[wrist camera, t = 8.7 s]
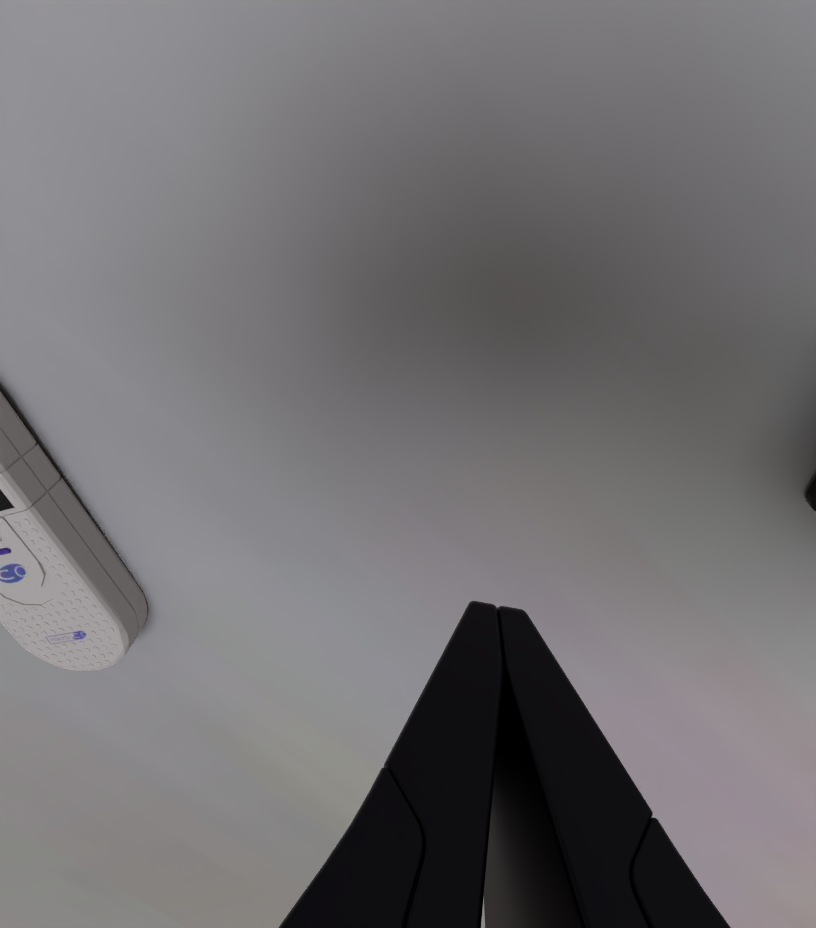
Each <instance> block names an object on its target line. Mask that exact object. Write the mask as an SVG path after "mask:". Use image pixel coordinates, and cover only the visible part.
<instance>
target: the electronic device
mask: <svg viewBox="0 0 816 928" xmlns="http://www.w3.org/2000/svg"><path fill="white" fill-rule="evenodd" d="M35 443H36V441H35V439H34V438H33V436H32V435H31V434H30V432H29V431H28V429H27V428H26V427H25V425H24V424H23V422H22V421H21V420H20V418H19V417H18V415H17V414H16V413H15V411H14V410H13V408H12V407H11V405H10V404H9V403H8V401H7V400H6V398H5V397H4V396H3V394H2V393H1V392H0V622H1V623H2V624H3V626H4V627H5V628H6V629H7V630H8V631H9V632H10V633H11V634H12V635H13V637H14V638H15V639H16V640H17V641H18V642H19V643H20V644H21V645H22V646H23V648H24V649H26V650H27V651H29V652H30V653H32V654H34V655H35V656H37V657H39V658H40V659H42V660H43V661H46V662H48V663H51V664H53V665H56V666H59V667H61V668H64V669H70V670H78V671H91V670H99V669H104V668H106V667H109V666H112V665H114V664H116V663H117V662H119V661H120V660H121V659H122V658H123V657H124V656H125V654H126V653H127V651H128V650H129V648H130V647H131V645H132V644H133V642H134V640H135V639H136V637H137V635H138V634H139V632H140V630H141V629H142V627H143V625H144V623H145V621H146V618H147V612H148V611H147V604H146V600H145V597H144V594H143V592H142V590H141V589H140V588H139V586H138V585H137V583H136V582H135V580H134V579H133V577H132V576H131V575H130V573H129V572H128V570H127V569H126V567H125V566H124V564H123V563H122V562H121V560H120V559H119V557H118V556H117V554H116V553H115V552H114V550H113V549H112V547H111V546H110V545H109V543H108V542H107V540H106V539H105V538H104V536H103V535H102V533H101V532H100V531H99V529H98V528H97V526H96V525H95V524H94V522H93V521H92V519H91V518H90V517H89V515H88V514H87V512H86V511H85V509H84V508H83V507H82V505H81V504H80V502H79V501H78V500H77V498H76V497H75V495H74V494H73V493H72V491H71V490H70V488H69V487H68V486H67V484H66V483H65V481H64V480H63V479H62V477H60V474H59V473H58V472H57V470H56V469H55V467H54V466H53V465H52V463H51V462H50V460H49V459H48V458H47V456H46V455H45V453H44V452H43V451H42V449H41V448H40V446H39V445H38V444H35Z"/></svg>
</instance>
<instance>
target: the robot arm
mask: <svg viewBox="0 0 816 928" xmlns="http://www.w3.org/2000/svg"><path fill="white" fill-rule="evenodd" d="M805 498H806V501H807V502H808V504H809V505H810V506H811V507H812V508H813V509H814V511H816V477H815V479H814V481H813V482H812V484H811V486H810V487H809V489H808V491H807V493H806V496H805ZM652 815H653V813H652V811H651V809H650V807H649V806H648V804H647V803H646V801H645V800H644V798H643V796H642V795H641V793H640V792H639V790H638V788H637V787H636V785H635V784H634V782H633V781H632V779H631V777H630V776H629V774H628V773H627V771H626V769H625V768H624V766H623V765H622V763H621V762H620V760H619V758H618V757H617V755H616V754H615V752H614V750H613V749H612V747H611V746H610V744H609V743H608V741H607V739H606V738H605V736H604V735H603V733H602V732H601V730H600V728H599V727H598V725H597V724H596V722H595V720H594V719H593V717H592V716H591V714H590V713H589V711H588V709H587V708H586V706H585V705H584V703H583V701H582V700H581V698H580V697H579V695H578V694H577V692H576V690H575V689H574V687H573V686H572V684H571V683H570V681H569V679H568V678H567V676H566V675H565V673H564V671H563V670H562V668H561V667H560V665H559V664H558V662H557V660H556V659H555V657H554V656H553V654H552V652H551V651H550V649H549V648H548V646H547V645H546V643H545V641H544V640H543V638H542V637H541V635H540V634H539V632H538V630H537V629H536V627H535V626H534V624H533V622H532V621H531V619H530V618H529V616H528V615H527V613H526V612H525V611H524V610H521V609H516V608H511V607H505V606H500V607H498V608H497V607H496V606H495V605H493V604H489V603H483V602H478V601H471V602H470V603H469V604H468V606H467V608H466V610H465V612H464V614H463V616H462V618H461V620H460V621H459V623H458V625H457V627H456V629H455V631H454V633H453V635H452V637H451V638H450V640H449V642H448V644H447V646H446V648H445V650H444V652H443V654H442V656H441V657H440V659H439V661H438V663H437V665H436V667H435V669H434V671H433V673H432V675H431V676H430V678H429V680H428V682H427V684H426V686H425V688H424V690H423V692H422V694H421V695H420V697H419V699H418V701H417V703H416V705H415V707H414V709H413V711H412V712H411V714H410V716H409V718H408V720H407V722H406V724H405V726H404V728H403V730H402V731H401V733H400V735H399V737H398V739H397V741H396V743H395V745H394V747H393V749H392V750H391V752H390V754H389V756H388V758H387V760H386V762H385V764H384V768H382V769H381V771H380V772H379V774H378V776H377V778H376V780H375V782H374V784H373V786H372V788H371V790H370V791H369V793H368V795H367V797H366V798H365V800H364V802H363V804H362V805H361V807H360V809H359V811H358V812H357V814H356V816H355V818H354V819H353V821H352V823H351V825H350V826H349V828H348V829H347V831H346V832H345V834H344V835H343V837H342V838H341V840H340V841H339V843H338V844H337V846H336V847H335V849H334V850H333V852H332V853H331V855H330V856H329V858H328V859H327V861H326V862H325V864H324V865H323V867H322V868H321V869H320V871H319V872H318V873H317V875H316V876H315V878H314V879H313V880H312V882H311V883H310V885H309V886H308V887H307V889H306V890H305V892H304V893H303V894H302V896H301V897H300V899H299V900H298V901H297V903H296V904H295V905H294V907H293V908H292V910H291V911H290V912H289V914H288V915H287V917H286V918H285V919H284V921H283V922H282V924H281V925H280V926H279V928H481V918H482V907H483V896H484V910H485V928H730V926H729V925H728V923H727V922H726V921H725V919H724V918H723V917H722V915H721V914H720V912H719V911H718V910H717V908H716V907H715V905H714V904H713V903H712V901H711V900H710V899H709V897H708V896H707V894H706V893H705V892H704V890H703V889H702V887H701V886H700V884H699V883H698V881H697V880H696V878H695V877H694V875H693V874H692V872H691V871H690V869H689V868H688V866H687V865H686V863H685V862H684V860H683V859H682V857H681V856H680V854H679V853H678V851H677V850H676V848H675V846H674V845H673V843H672V842H671V840H670V839H669V837H668V835H667V834H666V832H665V831H664V829H663V828H662V826H661V824H660V823H659V821H658V820H657V819H656V818H652Z"/></svg>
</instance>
